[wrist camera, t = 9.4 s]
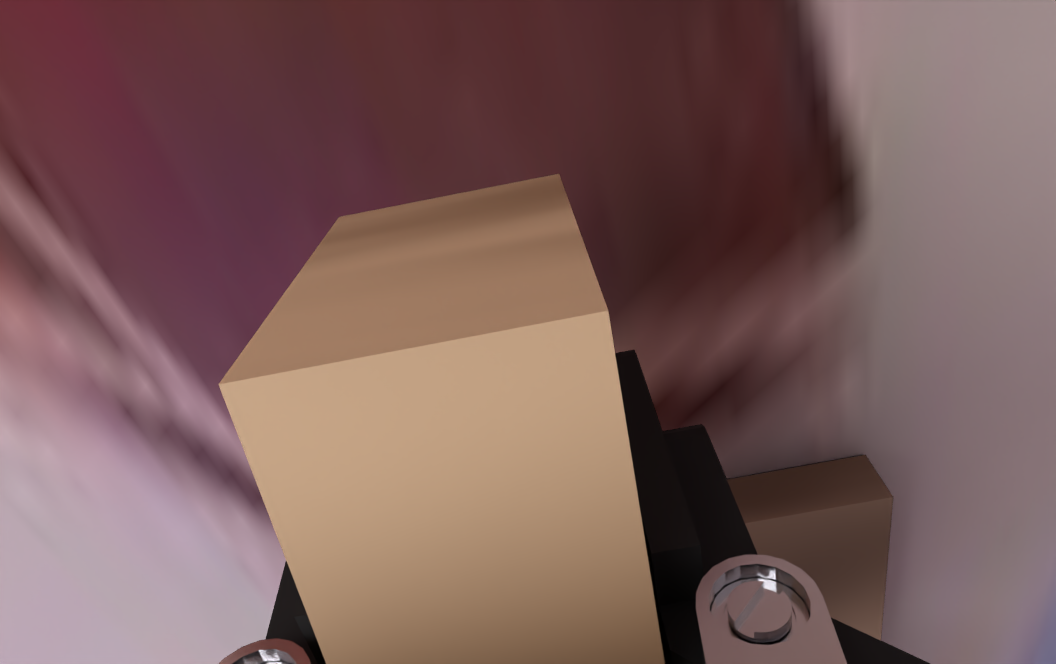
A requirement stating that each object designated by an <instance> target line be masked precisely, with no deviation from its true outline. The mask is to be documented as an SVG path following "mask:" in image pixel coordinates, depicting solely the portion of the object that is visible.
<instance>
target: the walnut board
mask: <svg viewBox="0 0 1056 664" xmlns="http://www.w3.org/2000/svg"><path fill="white" fill-rule="evenodd" d="M727 481H728V484H729V486H730V488H731V491H732V493H733V496H734V498H735V501H736V503H737V505H738V508H739V510H740V513H741V515H742V517H743V520H744V522H745V525H746V527H747V529H748V532H749V534H750V537H751V539H752V542H753V544H754V546H755V549H756V551H757V554H758V555H768V556H772V557H776V558H780V559H784V560H786V561H788V562H789V563H791V564H793V565H795V566H797V567H799V568H801V569H802V570H803V571H804V572H805V573H806V574H807V575H808V576H810V577H811V578H812V579H813V580H814V581H815V583H816V585H817V586H818V588H819V590H820V592H821V593H822V595H823V597H824V600H825V603H826V606H827V609H828V611H829V614H830V617H831V618H833V619H836V620H838V621H840V622H842V623H844V624H846V625H848V626H851V627H853V628H855V629H857V630H859V631H861V632H863V633H866V634H868V635H870V636H872V637H874V638H876V639H878V640H880V641H881V632H882V620H883V609H884V597H885V586H886V574H887V563H888V551H889V540H890V528H891V516H892V505H893V496H892V495H891V493H890V491H889V490H888V488H887V487H886V485H885V484H884V482H883V481H882V479H881V478H880V476H879V475H878V473H877V472H876V470H875V469H874V467H873V466H872V464H871V463H870V461H869V460H868V458H867V457H866V455H861V456H856V457H850V458H844V459H839V460H833V461H828V462H822V463H817V464H811V465H806V466H800V467H795V468H789V469H783V470H778V471H772V472H767V473H761V474H756V475H750V476H745V477H739V478H733V479H728V480H727Z"/></svg>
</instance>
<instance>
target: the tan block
mask: <svg viewBox="0 0 1056 664" xmlns="http://www.w3.org/2000/svg"><path fill="white" fill-rule="evenodd" d="M219 387H220V389H221V392H222V395H223V397H224V400H225V402H226V405H227V408H228V410H229V413H230V415H231V418H232V421H233V423H234V426H235V428H236V431H237V434H238V436H239V439H240V441H241V444H242V446H243V449H244V452H245V454H246V457H247V459H248V462H249V465H250V467H251V470H252V472H253V475H254V478H255V480H256V483H257V485H258V488H259V491H260V493H261V496H262V498H263V501H264V504H265V506H266V509H267V511H268V514H269V517H270V519H271V522H272V524H273V527H274V530H275V532H276V535H277V537H278V540H279V543H280V545H281V548H282V550H283V553H284V556H285V558H286V561H287V563H288V566H289V569H290V571H291V574H292V576H293V579H294V582H295V584H296V587H297V589H298V592H299V595H300V597H301V600H302V602H303V605H304V607H305V610H306V613H307V615H308V618H309V620H310V623H311V626H312V628H313V631H314V633H315V636H316V639H317V641H318V644H319V646H320V649H321V652H322V654H323V657H324V659H325V662H326V664H665V661H664V655H663V649H662V643H661V637H660V630H659V624H658V618H657V612H656V605H655V599H654V593H653V587H652V580H651V574H650V568H649V562H648V556H647V549H646V543H645V537H644V531H643V524H642V518H641V512H640V506H639V499H638V493H637V487H636V481H635V475H634V468H633V462H632V456H631V450H630V443H629V437H628V431H627V425H626V418H625V412H624V406H623V400H622V394H621V387H620V381H619V375H618V369H617V362H616V356H615V350H614V344H613V337H612V331H611V325H610V319H609V313H608V309H607V306H606V303H605V300H604V298H603V295H602V292H601V289H600V286H599V284H598V281H597V278H596V275H595V273H594V270H593V267H592V264H591V261H590V259H589V256H588V253H587V250H586V248H585V245H584V242H583V239H582V236H581V234H580V231H579V228H578V225H577V223H576V220H575V217H574V214H573V211H572V209H571V206H570V203H569V200H568V198H567V195H566V192H565V189H564V186H563V184H562V181H561V178H560V175H559V174H556V175H550V176H545V177H540V178H535V179H530V180H525V181H520V182H515V183H510V184H505V185H500V186H494V187H489V188H484V189H479V190H474V191H469V192H464V193H459V194H454V195H449V196H444V197H439V198H433V199H428V200H423V201H418V202H413V203H408V204H403V205H398V206H393V207H388V208H383V209H378V210H372V211H367V212H362V213H357V214H352V215H347V216H342V217H339V218H338V219H337V221H336V222H335V223H334V225H333V226H332V228H331V229H330V230H329V232H328V233H327V235H326V236H325V237H324V239H323V240H322V241H321V243H320V244H319V246H318V247H317V248H316V250H315V251H314V253H313V254H312V255H311V257H310V258H309V260H308V261H307V262H306V264H305V265H304V266H303V268H302V269H301V271H300V272H299V273H298V275H297V276H296V278H295V279H294V280H293V282H292V283H291V285H290V286H289V287H288V289H287V290H286V291H285V293H284V294H283V296H282V297H281V298H280V300H279V301H278V303H277V304H276V305H275V307H274V308H273V310H272V311H271V312H270V314H269V315H268V317H267V318H266V319H265V321H264V322H263V323H262V325H261V326H260V328H259V329H258V330H257V332H256V333H255V335H254V336H253V337H252V339H251V340H250V342H249V343H248V344H247V346H246V347H245V348H244V350H243V351H242V353H241V354H240V355H239V357H238V358H237V360H236V361H235V362H234V364H233V365H232V367H231V368H230V369H229V371H228V372H227V373H226V375H225V376H224V378H223V379H222V380H221V382H220V383H219Z"/></svg>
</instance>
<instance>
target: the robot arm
mask: <svg viewBox="0 0 1056 664" xmlns="http://www.w3.org/2000/svg"><path fill="white" fill-rule="evenodd" d="M615 356H616V362H617V369H618V375H619V381H620V387H621V394H622V400H623V406H624V412H625V418H626V425H627V431H628V437H629V443H630V450H631V456H632V462H633V468H634V475H635V481H636V487H637V493H638V499H639V506H640V512H641V518H642V524H643V531H644V537H645V543H646V549H647V556H648V562H649V568H650V574H651V580H652V587H653V593H654V599H655V605H656V612H657V618H658V624H659V630H660V637H661V643H662V649H663V655H664V661H665V664H930V663H928V662H925V661H923V660H921V659H919V658H917V657H915V656H913V655H910V654H908V653H906V652H904V651H902V650H900V649H898V648H895V647H893V646H891V645H889V644H887V643H885V642H883V641H880V640H878V639H876V638H874V637H872V636H870V635H868V634H866V633H863V632H861V631H859V630H857V629H855V628H853V627H851V626H848V625H846V624H844V623H842V622H840V621H838V620H836V619H833V618H831V617H830V614H829V611H828V609H827V606H826V603H825V600H824V597H823V595H822V593H821V592H820V590H819V588H818V586H817V585H816V583H815V581H814V580H813V579H812V578H811V577H810V576H808V575H807V574H806V573H805V572H804V571H803V570H802V569H801V568H799V567H797V566H795V565H793V564H791V563H789V562H788V561H786V560H784V559H780V558H776V557H772V556H768V555H758V554H757V551H756V549H755V546H754V544H753V542H752V539H751V537H750V534H749V532H748V529H747V527H746V525H745V522H744V520H743V517H742V515H741V513H740V510H739V508H738V505H737V503H736V501H735V498H734V496H733V493H732V491H731V488H730V486H729V484H728V481H727V479H726V476H725V474H724V472H723V469H722V467H721V464H720V462H719V460H718V457H717V455H716V452H715V450H714V447H713V445H712V443H711V440H710V438H709V435H708V433H707V431H706V429H705V427H704V426H703V425H702V424H700V425H695V426H689V427H684V428H678V429H673V430H667V431H662V429H661V426H660V423H659V420H658V417H657V414H656V411H655V408H654V405H653V402H652V399H651V396H650V393H649V390H648V387H647V384H646V381H645V378H644V375H643V373H642V370H641V367H640V364H639V361H638V358H637V355H636V352H635V350H630V351H625V352H619V353H615ZM219 664H326V662H325V659H324V657H323V654H322V652H321V649H320V646H319V644H318V641H317V639H316V636H315V633H314V631H313V628H312V626H311V623H310V620H309V618H308V615H307V613H306V610H305V607H304V605H303V602H302V600H301V597H300V595H299V592H298V589H297V587H296V584H295V582H294V579H293V576H292V574H291V571H290V569H289V566H288V563H287V561H286V563H285V567H284V571H283V575H282V579H281V582H280V586H279V590H278V594H277V598H276V601H275V605H274V609H273V613H272V617H271V621H270V624H269V628H268V632H267V636H266V640H259V641H257V642H254V643H251V644H249V645H246V646H243V647H241V648H240V649H238V650H236V651H235V652H233V653H232V654H230V655H229V656H227V657H225V658H224V659H223V660H222V661H221V662H220V663H219Z"/></svg>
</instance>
